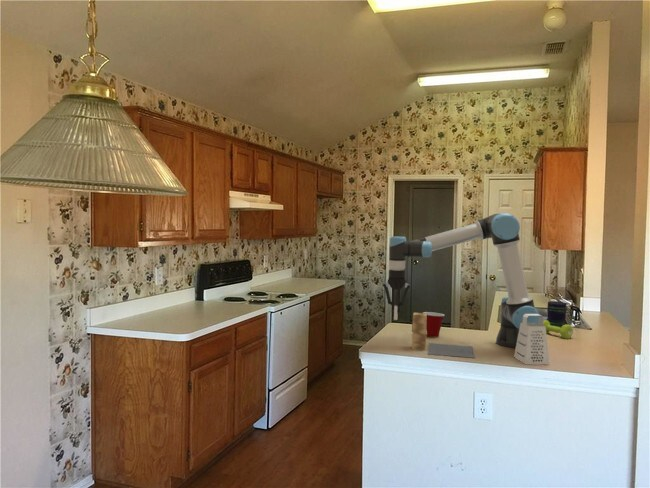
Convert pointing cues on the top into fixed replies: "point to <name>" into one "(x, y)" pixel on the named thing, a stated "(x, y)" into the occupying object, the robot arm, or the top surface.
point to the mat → (451, 350)
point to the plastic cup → (433, 323)
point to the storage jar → (556, 313)
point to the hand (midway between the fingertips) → (395, 319)
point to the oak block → (419, 331)
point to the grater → (532, 342)
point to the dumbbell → (559, 329)
